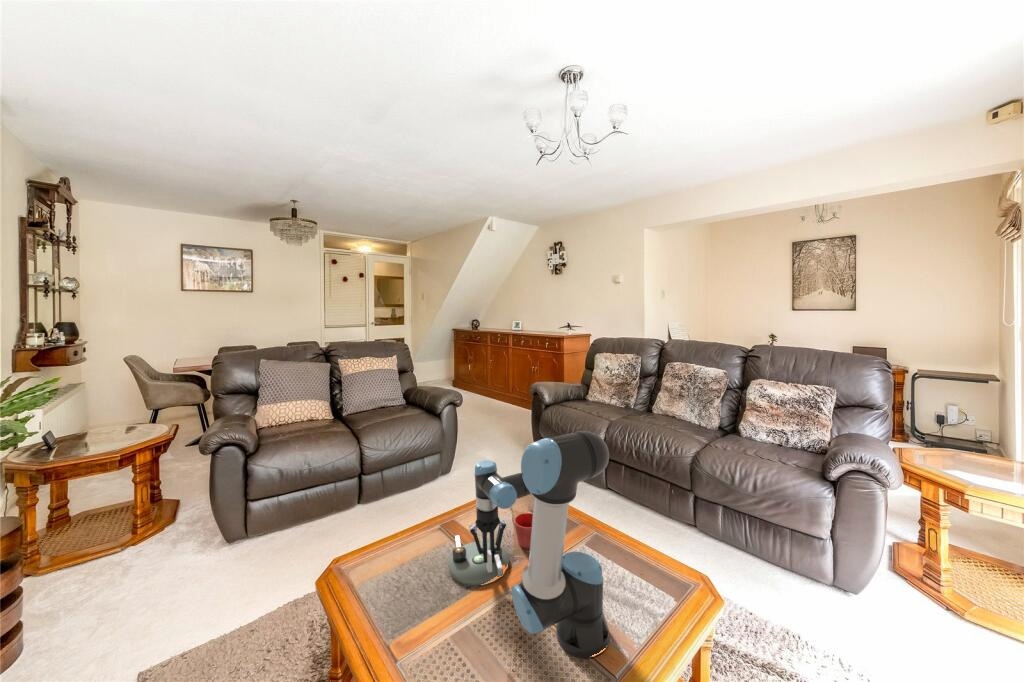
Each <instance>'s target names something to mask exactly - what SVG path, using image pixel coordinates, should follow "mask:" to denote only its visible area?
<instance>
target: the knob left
mask: <svg viewBox="0 0 1024 682" xmlns="http://www.w3.org/2000/svg"><path fill="white" fill-rule="evenodd" d="M454 537H455V538H454V540H455V547H454V548H453V549H452V554H453V561H454V562H456V563H461V562H464V561H465V560H466V549H465V548H464V547H461V538H460V534H458V535H455V536H454Z"/></svg>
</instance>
